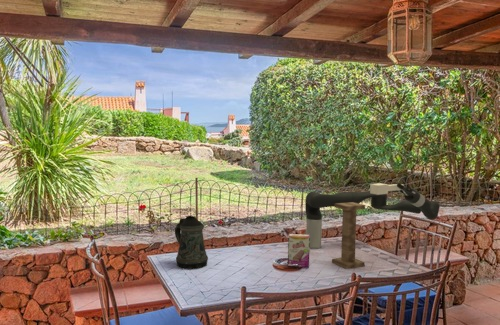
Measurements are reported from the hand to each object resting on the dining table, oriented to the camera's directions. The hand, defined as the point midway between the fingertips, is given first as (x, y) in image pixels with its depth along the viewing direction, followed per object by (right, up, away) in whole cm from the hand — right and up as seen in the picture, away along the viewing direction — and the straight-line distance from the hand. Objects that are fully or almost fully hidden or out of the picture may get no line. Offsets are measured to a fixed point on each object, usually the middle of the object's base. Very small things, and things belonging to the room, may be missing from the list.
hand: (395, 184), depth 246 cm
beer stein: (-112, -41, -14) cm, 120 cm away
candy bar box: (-55, -42, -15) cm, 71 cm away
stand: (-29, -42, -11) cm, 52 cm away
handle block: (-5, -5, -2) cm, 7 cm away
